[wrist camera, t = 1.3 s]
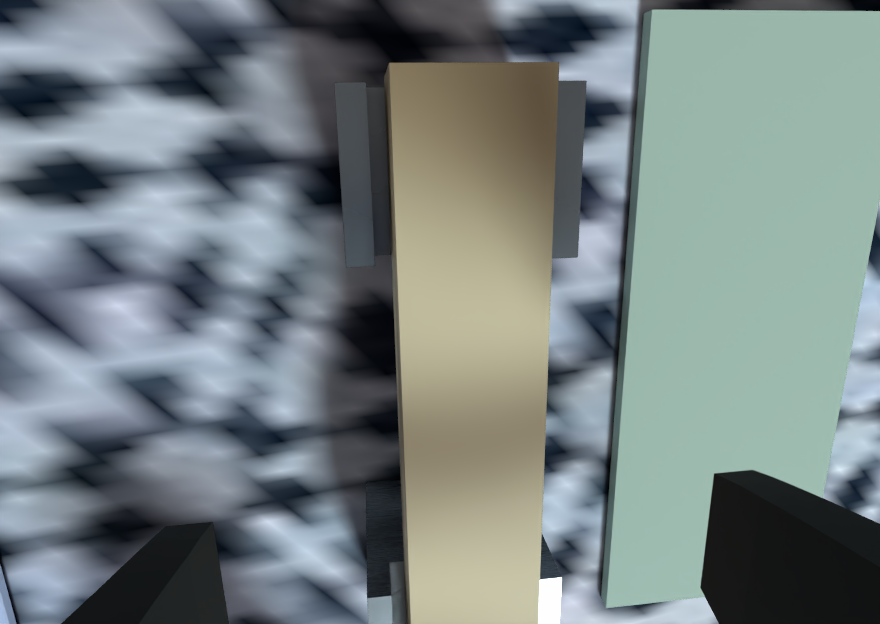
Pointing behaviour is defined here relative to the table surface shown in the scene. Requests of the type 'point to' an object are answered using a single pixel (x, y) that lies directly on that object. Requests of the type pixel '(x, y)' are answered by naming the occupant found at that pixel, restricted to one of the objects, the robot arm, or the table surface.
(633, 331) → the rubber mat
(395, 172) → the oak rail
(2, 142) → the table surface
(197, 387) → the table surface
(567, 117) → the cradle stands
